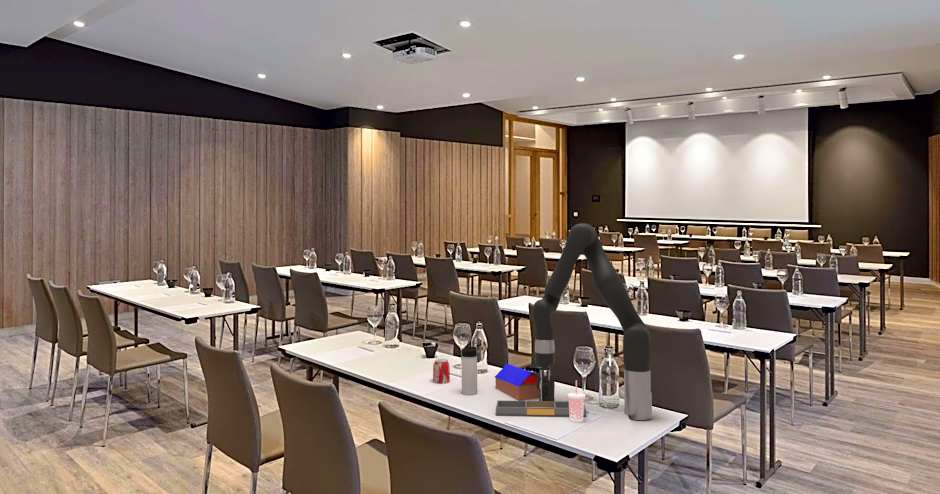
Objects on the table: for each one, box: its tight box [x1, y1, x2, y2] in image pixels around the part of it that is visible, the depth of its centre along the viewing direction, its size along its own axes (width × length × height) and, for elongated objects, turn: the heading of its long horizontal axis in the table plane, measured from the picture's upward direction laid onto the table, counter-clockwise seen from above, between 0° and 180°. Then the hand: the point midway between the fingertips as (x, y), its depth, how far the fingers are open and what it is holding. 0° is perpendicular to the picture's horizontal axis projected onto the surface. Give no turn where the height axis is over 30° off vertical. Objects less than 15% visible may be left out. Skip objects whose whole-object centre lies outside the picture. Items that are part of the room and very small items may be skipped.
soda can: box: [432, 358, 451, 385], centre depth 278 cm, size 7×7×12 cm
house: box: [494, 363, 540, 401], centre depth 264 cm, size 12×20×12 cm, turn 26°
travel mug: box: [461, 346, 478, 396], centre depth 262 cm, size 6×7×20 cm
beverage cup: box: [567, 379, 586, 423], centre depth 228 cm, size 6×6×14 cm
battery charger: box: [537, 373, 556, 401], centre depth 250 cm, size 7×4×11 cm, turn 131°
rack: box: [495, 400, 587, 418], centre depth 238 cm, size 32×10×3 cm, turn 85°
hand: (545, 394), depth 250 cm, fingers closed on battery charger, 7 cm apart
